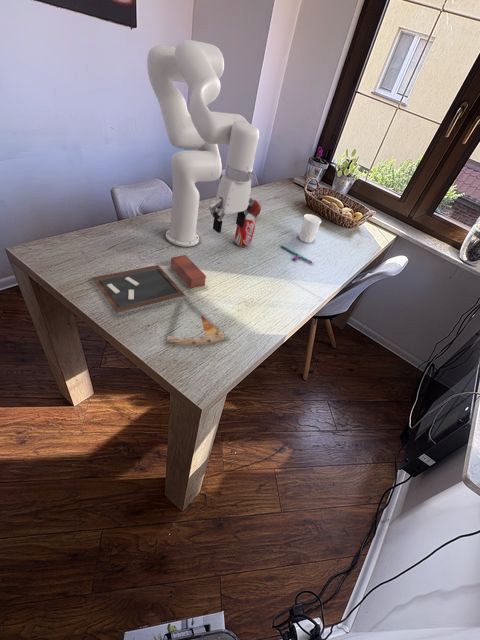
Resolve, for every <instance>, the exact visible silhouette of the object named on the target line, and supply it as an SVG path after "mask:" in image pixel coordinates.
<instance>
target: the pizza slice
mask: <svg viewBox="0 0 480 640" xmlns="http://www.w3.org/2000/svg"><path fill="white" fill-rule="evenodd" d="M200 315H201V316H200V317H201V323H202V328H203V333H204V336H197V337H181V336H170V335H167V337H166V340H167V341H166V342H165V344H166V345H170V346H182V347H183V346H184V347H185V346H186V347H187V346H189V347H191V346H205V345H210V344H213V343H214V344H215V343H217V342H220V341H223V340H225V339H226V335H225V333H224V332H223V331H219V330H218V329H217V328H216V327H215V326H214V325H213V324H212V323H211V322H210V321H209V320H207V319H206V318H205V317H204V316H203V315H202V314H200Z"/></svg>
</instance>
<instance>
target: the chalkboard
mask: <svg viewBox="0 0 480 640" xmlns="http://www.w3.org/2000/svg"><path fill="white" fill-rule="evenodd" d="M127 277H130V278H131V279H133V280H134V281H136V282H138V283H139V285H137V286H135V285H133V284H131V283H130V282H128V281H126V280H125V278H127ZM91 279H92V280H93V282H94V283H95V285H96V286H97V287H98V289H99V290H100V292H101V293H102V295H103V296H104V298H105V299H106V301H108V303H109V304H110V306H111V307H112V309H113V310H114V312H115V313H116V314H119V313H122V312H127V311H130V310H134V309H137V308H139V309H140V308H142V307H146V306H151V305H155V304H158V303H162V302H166V301H170V300H174V299H178V298H182V297H185V296H186V295H185V293H184V292H183V291H182V290H181V289H180V288H179V287H178V285H177V284H176V283H175V282H174V281H173V280H172V279H171V278H170V277H169V275H168V273H166V272H165V270H163V269H162V267H161V266H160V265H159V264H156V265H151V266H146V267H141V268H135V269H129V270H124V271H119V272H113V273H109V274H103V275H97V276H92V277H91ZM108 284H112V285H113V286H115V287H116V288H117V289H118V290H119V291H120V292H119V293H116V294H115V293H114V292H113V291H112V290H111V289H110V288H108V287H107V285H108ZM129 290H134V300H128V296H129Z"/></svg>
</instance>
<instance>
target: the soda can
mask: <svg viewBox="0 0 480 640" xmlns="http://www.w3.org/2000/svg"><path fill="white" fill-rule="evenodd" d="M256 223H257V221H256V217H255V216H254V215H252V214H250V213H248V215H247V216H246V218H245V223H244V227H243V228H241V227H240V226H238V225H237V224H236V229H235V233H234V243H235V244H236V245H237V246H239V247H241V248H247V247H249V246H251V244H252V241H253V237H254V233H255V229H256V225H257V224H256Z"/></svg>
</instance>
